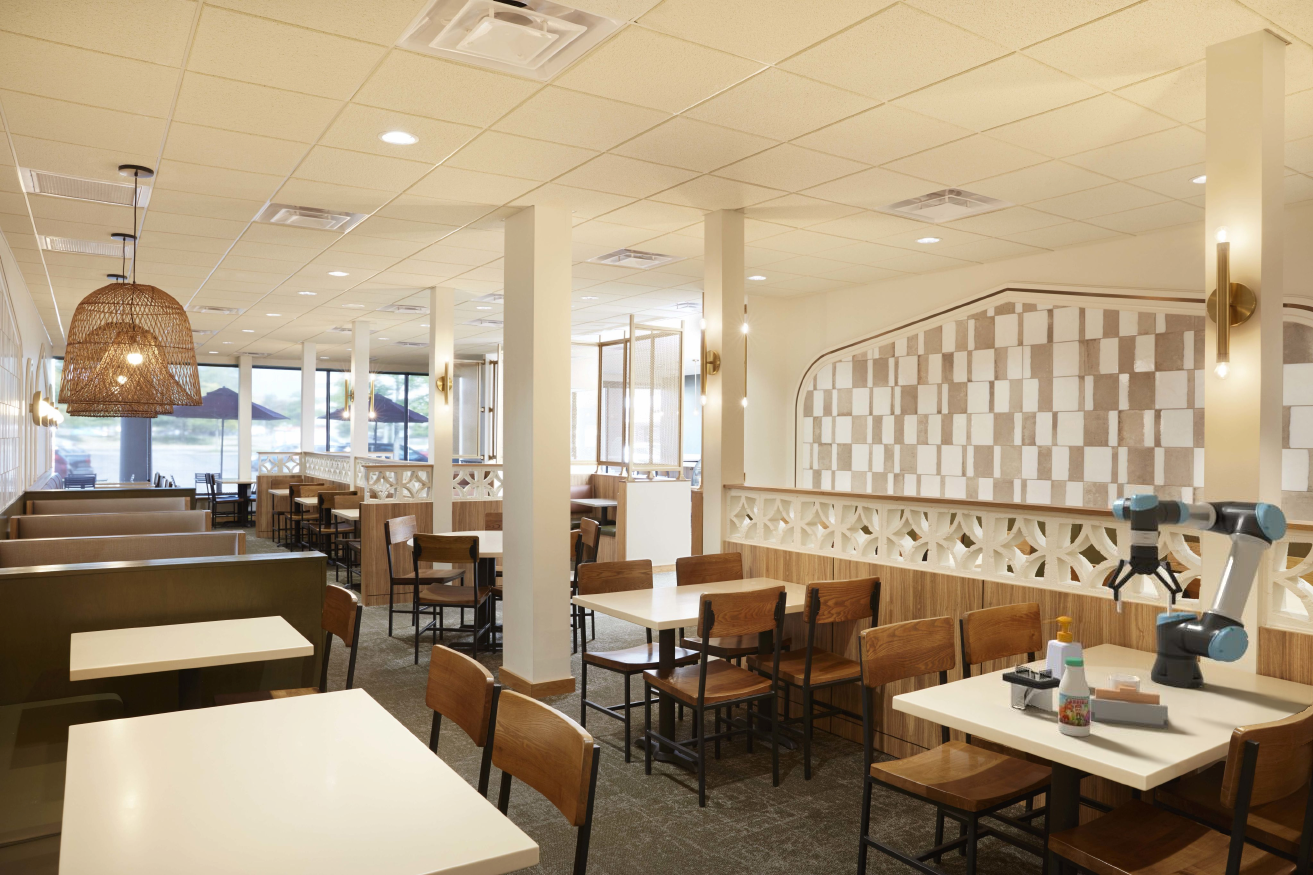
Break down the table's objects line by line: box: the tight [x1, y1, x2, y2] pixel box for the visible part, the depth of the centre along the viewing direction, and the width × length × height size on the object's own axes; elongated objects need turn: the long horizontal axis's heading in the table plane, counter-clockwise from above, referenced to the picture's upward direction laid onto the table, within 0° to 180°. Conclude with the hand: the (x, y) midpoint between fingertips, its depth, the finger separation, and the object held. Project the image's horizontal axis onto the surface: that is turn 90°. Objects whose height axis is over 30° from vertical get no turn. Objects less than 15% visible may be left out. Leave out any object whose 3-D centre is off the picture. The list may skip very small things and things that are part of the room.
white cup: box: [1109, 674, 1141, 692], centre depth 252 cm, size 8×8×10 cm
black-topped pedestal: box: [1001, 663, 1060, 713], centre depth 257 cm, size 28×26×13 cm
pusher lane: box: [1090, 697, 1169, 730], centre depth 252 cm, size 19×19×6 cm
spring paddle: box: [1094, 685, 1161, 705], centre depth 247 cm, size 16×3×8 cm, turn 69°
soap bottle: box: [1042, 615, 1086, 682], centre depth 285 cm, size 10×14×22 cm
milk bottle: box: [1057, 657, 1091, 737], centre depth 236 cm, size 8×8×20 cm
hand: (1144, 613), depth 268 cm, fingers open, 13 cm apart
